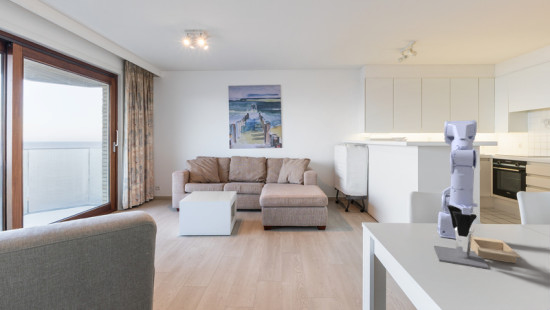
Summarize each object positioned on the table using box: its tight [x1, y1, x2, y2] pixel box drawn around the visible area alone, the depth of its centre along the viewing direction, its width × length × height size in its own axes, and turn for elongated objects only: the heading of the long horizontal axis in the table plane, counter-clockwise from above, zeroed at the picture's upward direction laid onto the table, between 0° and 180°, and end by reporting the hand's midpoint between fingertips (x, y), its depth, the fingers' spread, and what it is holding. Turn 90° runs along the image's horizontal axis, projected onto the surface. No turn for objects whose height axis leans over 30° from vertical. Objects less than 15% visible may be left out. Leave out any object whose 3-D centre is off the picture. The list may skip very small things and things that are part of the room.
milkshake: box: [455, 226, 477, 258], centre depth 81 cm, size 4×5×10 cm
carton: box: [470, 236, 521, 264], centre depth 84 cm, size 9×14×3 cm, turn 156°
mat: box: [433, 245, 490, 270], centre depth 82 cm, size 12×12×1 cm
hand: (459, 232), depth 82 cm, fingers open, 7 cm apart
